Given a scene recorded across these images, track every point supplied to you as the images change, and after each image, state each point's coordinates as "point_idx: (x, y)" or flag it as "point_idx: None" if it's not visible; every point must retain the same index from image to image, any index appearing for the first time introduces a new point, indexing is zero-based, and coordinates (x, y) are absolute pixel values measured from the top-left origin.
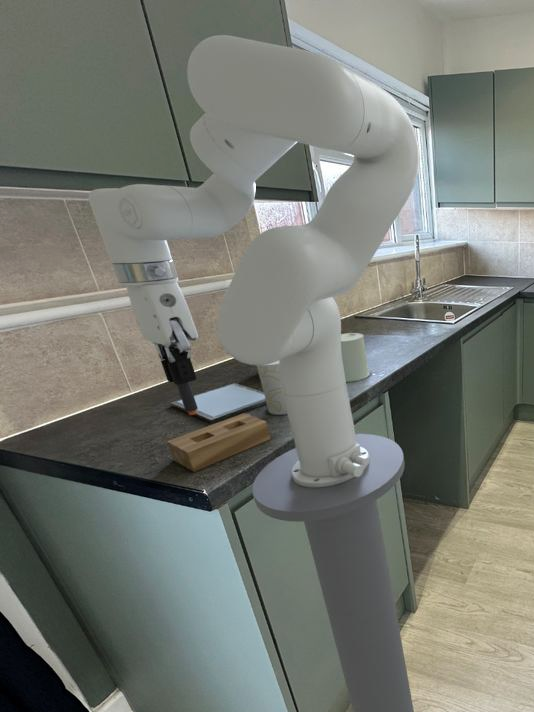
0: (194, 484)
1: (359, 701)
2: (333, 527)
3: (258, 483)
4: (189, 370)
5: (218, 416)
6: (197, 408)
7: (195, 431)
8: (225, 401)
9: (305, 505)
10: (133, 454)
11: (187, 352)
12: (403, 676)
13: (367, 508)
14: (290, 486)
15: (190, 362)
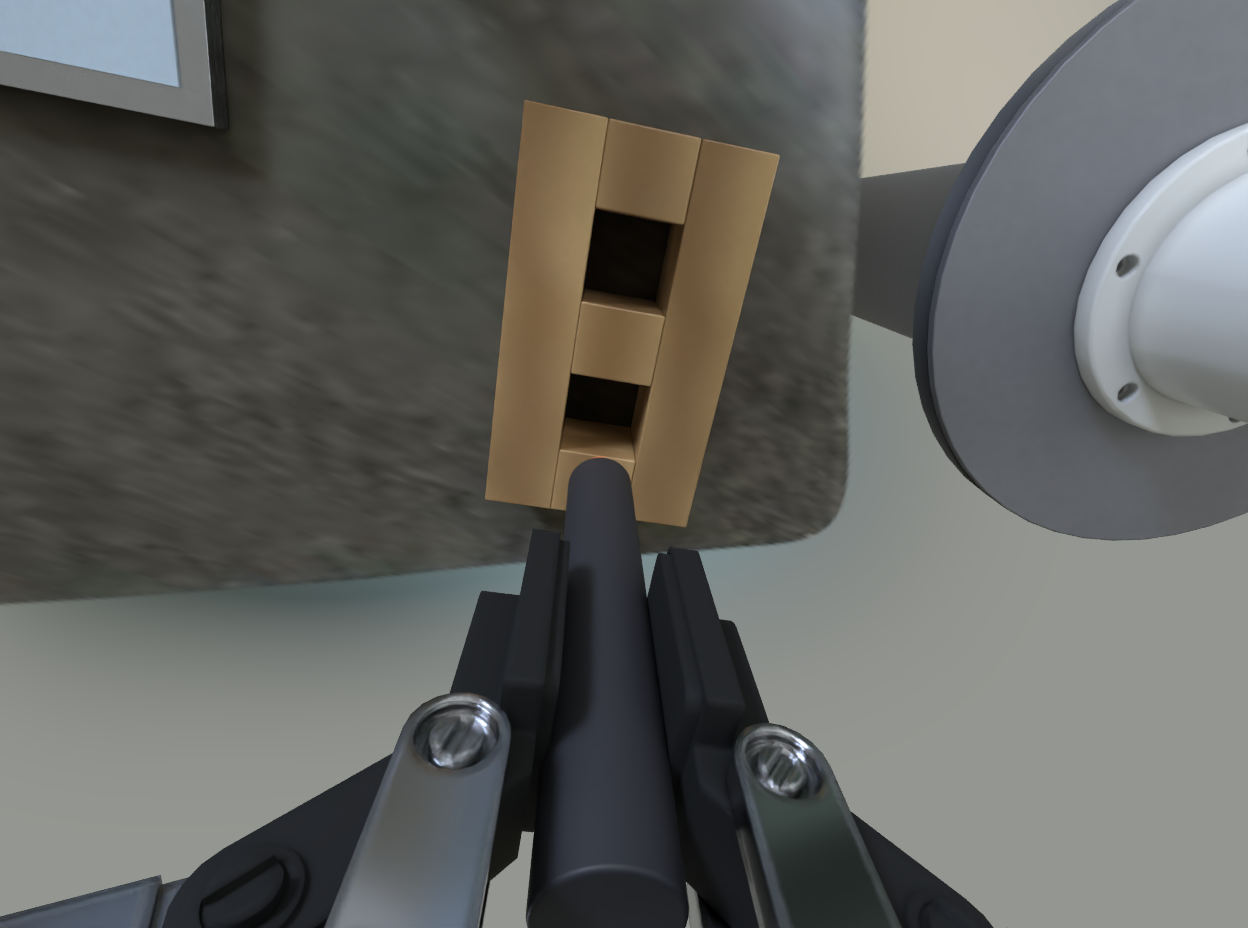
0: (750, 530)
1: None
2: None
3: (990, 468)
4: (748, 663)
5: (200, 67)
6: (622, 466)
7: (505, 391)
8: None
9: (1222, 497)
10: (281, 486)
11: (953, 896)
12: None
13: None
14: (1120, 444)
15: (727, 670)
